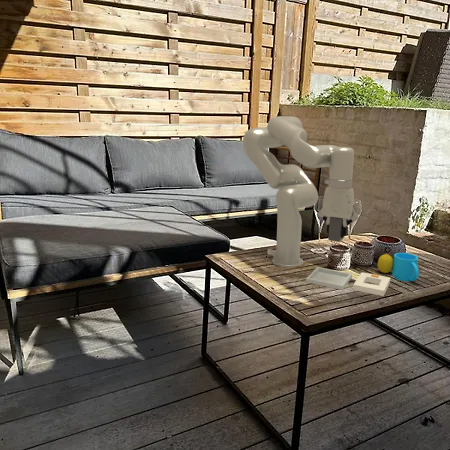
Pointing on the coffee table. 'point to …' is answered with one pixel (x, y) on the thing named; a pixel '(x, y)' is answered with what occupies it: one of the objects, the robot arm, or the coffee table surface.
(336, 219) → the plug
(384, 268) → the lemon
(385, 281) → the block
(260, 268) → the coffee table surface
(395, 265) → the mug
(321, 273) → the tray
